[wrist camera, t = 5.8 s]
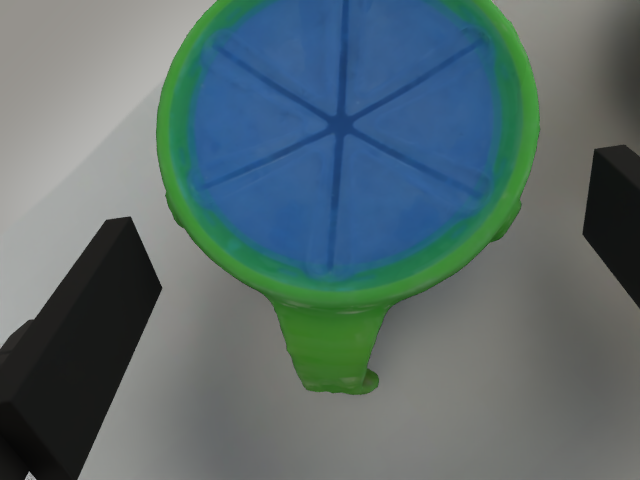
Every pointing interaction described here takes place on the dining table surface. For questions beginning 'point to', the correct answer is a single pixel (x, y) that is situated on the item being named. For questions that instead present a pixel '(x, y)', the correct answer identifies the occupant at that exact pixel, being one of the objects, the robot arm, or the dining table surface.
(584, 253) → the dining table surface
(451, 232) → the snack cup
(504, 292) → the dining table surface
